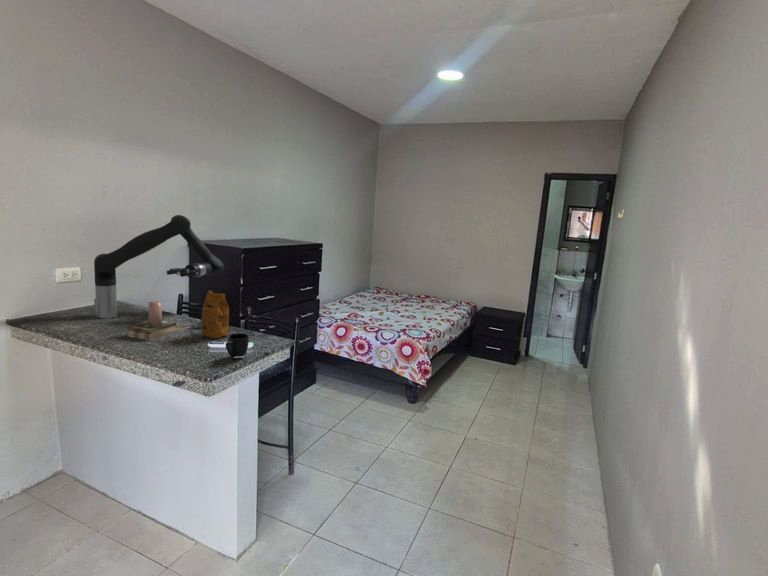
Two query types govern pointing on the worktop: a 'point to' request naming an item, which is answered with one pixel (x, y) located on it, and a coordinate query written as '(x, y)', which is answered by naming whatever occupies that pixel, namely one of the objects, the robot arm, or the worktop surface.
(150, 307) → the canister
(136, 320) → the worktop surface
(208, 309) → the coffee package
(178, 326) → the wooden tray
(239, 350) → the mug
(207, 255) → the robot arm
